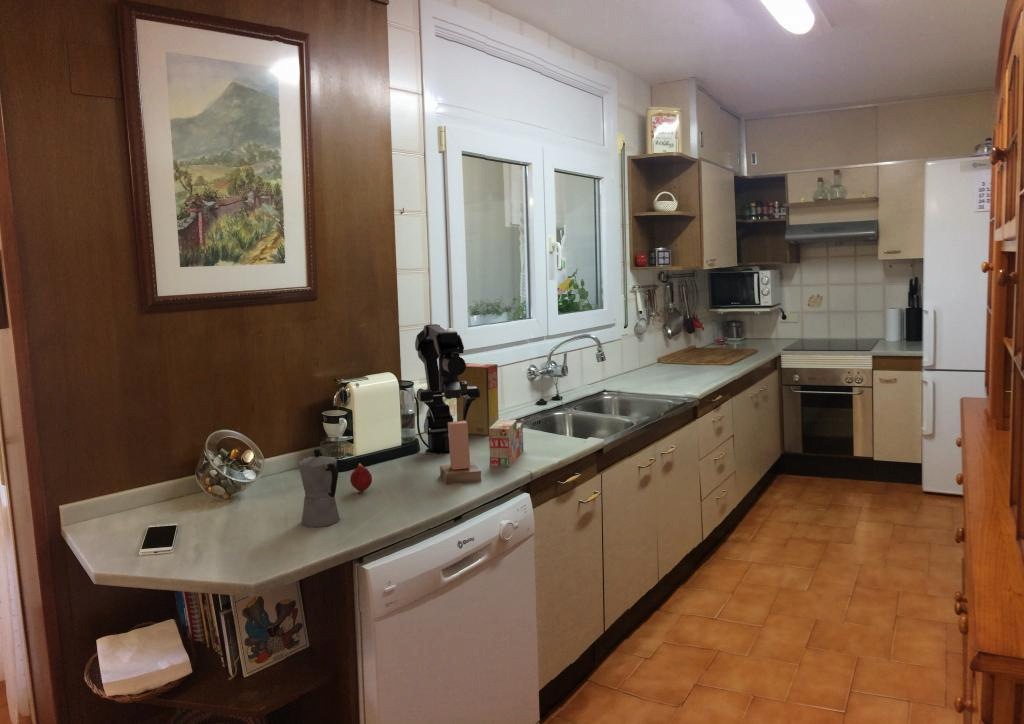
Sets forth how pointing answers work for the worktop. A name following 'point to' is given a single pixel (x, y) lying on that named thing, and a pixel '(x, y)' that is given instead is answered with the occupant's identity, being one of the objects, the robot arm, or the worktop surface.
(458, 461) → the terracotta block
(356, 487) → the onion
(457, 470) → the walnut block
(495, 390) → the food packaging
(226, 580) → the worktop surface
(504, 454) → the stack of blocks
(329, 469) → the coffeepot
